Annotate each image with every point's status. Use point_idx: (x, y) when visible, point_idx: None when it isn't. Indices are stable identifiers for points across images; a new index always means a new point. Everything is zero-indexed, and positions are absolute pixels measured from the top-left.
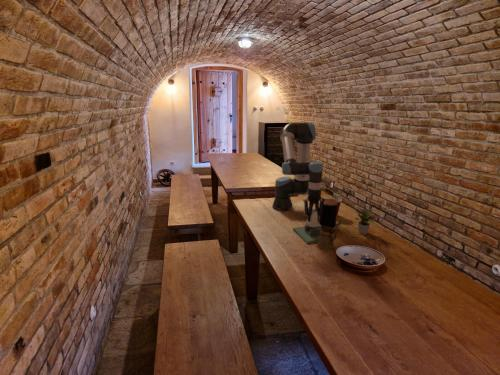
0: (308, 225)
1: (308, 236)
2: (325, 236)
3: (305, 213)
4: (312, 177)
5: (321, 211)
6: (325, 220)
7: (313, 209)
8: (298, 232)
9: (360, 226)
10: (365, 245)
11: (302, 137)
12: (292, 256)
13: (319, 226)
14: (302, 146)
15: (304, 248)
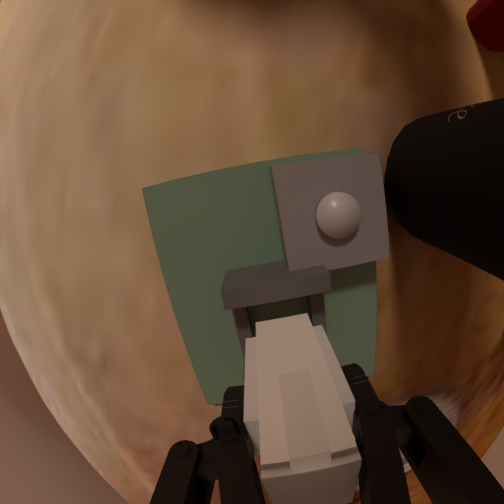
0: (258, 294)
1: (233, 353)
2: None
3: (176, 465)
4: None
5: (419, 456)
6: (448, 248)
7: (332, 477)
8: (171, 282)
9: None
10: (456, 395)
11: None
12: (133, 450)
13: (371, 259)
14: None
15: (186, 424)
